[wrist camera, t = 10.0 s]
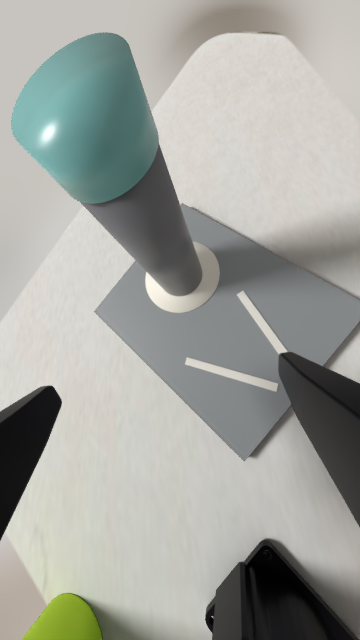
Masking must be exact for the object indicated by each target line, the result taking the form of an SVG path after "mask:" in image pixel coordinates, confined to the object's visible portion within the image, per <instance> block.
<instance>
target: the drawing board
mask: <svg viewBox="0 0 360 640" xmlns="http://www.w3.org/2000/svg"><path fill="white" fill-rule="evenodd" d="M180 207H181V209H182V212H183V215H184V218H185V221H186V224H187V227H188V230H189V233H190V236H191V239H192V241H193V244H194V247H195V250H196V253H197V256H198V259H199V262H200V265H201V268H202V280H201V282H200V284H199V286H198V287H197V288H196V289H195V290H194V291H193V292H192V293H190V294H188V295H185V296H173V295H170V294H168V293H167V292H166V291H165V290H164V289H163V288H162V287H161V286H160V285H159V284H158V283H157V282H156V281H155V280H154V279H153V278H152V277H151V276H150V275H149V274H148V273H147V272H146V271H145V269H144V268H143V267H142V266H141V265H140V264H139V263H138V262H137V261H135V262H134V263H133V264H132V266H131V267H130V268H129V269H128V270H127V272H126V273H125V274H124V275H123V277H122V278H121V279H120V280H119V282H118V283H117V284H116V285H115V286H114V288H113V289H112V290H111V291H110V293H109V294H108V295H107V296H106V297H105V299H104V300H103V301H102V302H101V304H100V305H99V306H98V307H97V309H96V310H95V311H94V312H95V313H96V314H97V315H98V316H99V317H100V318H101V319H102V320H103V321H104V322H105V323H106V324H107V325H108V326H109V327H110V328H111V329H112V330H113V331H114V332H115V333H116V334H117V335H118V336H119V337H120V338H121V339H122V340H123V341H124V342H125V343H126V344H127V345H128V346H129V347H130V348H131V349H132V350H133V351H134V352H135V353H136V354H137V355H138V356H139V357H140V358H141V359H142V360H143V361H144V362H145V363H146V364H147V365H148V366H149V367H150V368H151V369H152V370H153V371H154V372H155V373H156V374H157V375H158V376H159V377H160V378H161V379H162V380H163V381H164V382H165V383H166V384H167V385H168V386H169V387H170V388H171V389H172V390H173V391H174V392H175V393H176V394H177V395H178V396H179V397H180V398H181V399H182V400H183V401H184V402H185V403H186V404H187V405H188V406H189V407H190V408H191V409H192V410H193V411H194V412H195V413H196V414H197V415H198V416H199V417H200V418H201V419H202V420H203V421H204V422H205V423H206V424H207V425H208V426H209V427H210V428H211V429H212V430H213V431H214V432H215V433H216V434H217V435H218V436H219V437H220V438H221V439H222V440H223V441H224V442H225V443H226V444H227V445H228V446H229V447H230V448H231V449H232V450H233V451H234V452H235V453H236V454H237V455H238V456H239V457H240V458H241V459H242V460H243V461H245V460H246V459H247V458H248V457H249V455H250V454H251V453H252V452H253V450H254V449H255V448H256V447H257V446H258V444H259V443H260V442H261V441H262V440H263V438H264V437H265V436H266V435H267V433H268V432H269V431H270V430H271V429H272V427H273V426H274V425H275V424H276V422H277V421H278V420H279V419H280V418H281V416H282V415H283V414H284V413H285V412H286V410H287V409H288V408H289V407H290V405H291V402H290V400H289V398H288V395H287V393H286V391H285V388H284V386H283V384H282V382H281V379H280V377H279V373H278V357H279V354H280V353H284V352H293V353H296V354H298V355H300V356H302V357H304V358H306V359H308V360H310V361H313V362H315V363H317V364H319V365H321V366H323V365H324V364H325V363H326V362H327V360H328V359H329V358H330V357H331V356H332V354H333V353H334V352H335V351H336V349H337V348H338V347H339V346H340V345H341V343H342V342H343V341H344V340H345V338H346V337H347V336H348V335H349V334H350V332H351V331H352V330H353V329H354V328H355V326H356V325H357V324H358V323H359V321H360V300H358V299H357V298H355V297H353V296H351V295H349V294H347V293H346V292H344V291H342V290H340V289H338V288H336V287H335V286H333V285H331V284H329V283H327V282H325V281H324V280H322V279H320V278H318V277H316V276H315V275H313V274H311V273H309V272H307V271H305V270H304V269H302V268H300V267H298V266H296V265H294V264H293V263H291V262H289V261H287V260H285V259H283V258H282V257H280V256H278V255H276V254H274V253H272V252H271V251H269V250H267V249H265V248H263V247H261V246H260V245H258V244H256V243H254V242H252V241H251V240H249V239H247V238H245V237H243V236H241V235H240V234H238V233H236V232H234V231H232V230H230V229H229V228H227V227H225V226H223V225H221V224H219V223H218V222H216V221H214V220H212V219H210V218H208V217H207V216H205V215H203V214H201V213H199V212H198V211H196V210H194V209H192V208H190V207H188V206H187V205H185V204H183V203H182V204H181V205H180Z"/></svg>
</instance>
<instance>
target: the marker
mask: <svg viewBox="0 0 360 640" xmlns="http://www.w3.org/2000/svg"><path fill="white" fill-rule="evenodd" d="M11 125H12V132H13V135H14V137H15V139H16V140H17V141H18V142H19V143H20V144H21V145H22V146H23V148H25V150H26V151H27V152H28V153H29V154H31V156H32V157H33V158H34V159H35V160H36V161H37V162H38V163H39V164H40V165H41V166H42V167H43V168H44V169H45V170H46V171H47V172H48V173H49V174H50V175H51V176H52V177H53V178H54V179H55V180H56V181H57V182H58V183H59V184H60V185H61V186H62V187H63V188H64V189H65V190H66V191H67V193H68V194H69V195H70V196H72V197H73V198H74V199H76V200H77V201H80V202H81V204H83V206H84V207H85V208H86V209H87V210H88V211H89V212H90V213H91V214H92V215H93V216H94V217H95V218H96V219H97V220H98V221H99V222H100V223H101V224H102V225H103V227H104V228H105V229H106V230H107V231H108V232H109V233H110V234H111V235H112V236H113V237H114V238H115V239H116V240H117V241H118V242H119V243H120V244H121V245H122V246H123V247H124V249H125V250H126V251H127V252H128V253H129V254H130V255H131V256H132V257H133V258H134V259H135V260H136V261H137V262H138V263H139V264H140V265H141V266H142V267H143V268H144V269H145V271H146V272H147V273H148V274H149V275H150V276H151V277H152V278H153V279H154V280H155V281H156V282H157V283H158V284H159V285H160V286H161V287H162V288H163V289H164V290H165V291H166V292H167V293H168V294H170V295H173V296H185V295H188V294H190V293H192V292H193V291H194V290H195V289H196V288H197V287H198V286H199V284H200V282H201V280H202V268H201V265H200V262H199V259H198V256H197V253H196V250H195V247H194V244H193V241H192V239H191V236H190V233H189V230H188V227H187V224H186V221H185V218H184V215H183V212H182V209H181V207H180V204H179V201H178V198H177V195H176V192H175V189H174V186H173V183H172V180H171V177H170V175H169V172H168V169H167V166H166V163H165V160H164V157H163V154H162V151H161V148H160V145H159V137H158V131H157V128H156V125H155V122H154V119H153V116H152V113H151V110H150V107H149V104H148V101H147V98H146V95H145V92H144V89H143V86H142V83H141V80H140V77H139V74H138V71H137V68H136V65H135V62H134V59H133V56H132V53H131V50H130V47H129V45H128V43H127V42H126V40H125V39H124V38H122V37H121V36H119V35H117V34H113V33H96V34H91V35H88V36H85V37H83V38H80V39H78V40H76V41H74V42H72V43H70V44H68V45H67V46H65V47H63V48H62V49H60V50H59V51H58V52H56V53H55V54H54V55H53V56H51V57H50V58H49V59H48V60H47V61H46V62H44V63H43V64H42V66H40V68H39V69H38V70H37V71H36V72H35V73H34V74H33V75H32V77H31V78H30V79H29V81H28V82H27V83H26V85H25V86H24V88H23V89H22V91H21V93H20V95H19V97H18V99H17V101H16V104H15V107H14V110H13V114H12V121H11Z"/></svg>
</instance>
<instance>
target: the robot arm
mask: <svg viewBox="0 0 360 640" xmlns="http://www.w3.org/2000/svg"><path fill="white" fill-rule="evenodd" d="M278 373H279V377H280V379H281V382H282V384H283V386H284V388H285V391H286V393H287V395H288V398H289V400H290V402H291V404H292V407H293V409H294V411H295V413H296V416H297V418H298V420H299V421H300V423H301V425H302V427H303V429H304V430H305V432H306V434H307V436H308V437H309V439H310V441H311V443H312V444H313V446H314V448H315V450H316V451H317V453H318V455H319V457H320V458H321V460H322V462H323V464H324V465H325V467H326V469H327V471H328V472H329V474H330V476H331V478H332V479H333V481H334V483H335V485H336V486H337V488H338V490H339V492H340V493H341V495H342V497H343V499H344V500H345V502H346V504H347V506H348V507H349V509H350V511H351V513H352V514H353V516H354V518H355V520H356V521H357V523H358V525H359V527H360V384H359V383H357V382H355V381H353V380H351V379H349V378H347V377H344V376H342V375H340V374H338V373H336V372H334V371H332V370H330V369H327V368H325V367H323V366H321V365H319V364H317V363H315V362H313V361H310V360H308V359H306V358H304V357H302V356H300V355H298V354H296V353H293V352H284V353H280V354H279V357H278ZM61 404H62V401H61V398H60V397H59V395H58V393H57V392H56V390H55V388H54V387H53V386H43V387H40V388H38V389H36V390H35V391H33V392H31V393H30V394H28V395H27V396H25V397H23V398H22V399H20V400H18V401H17V402H15V403H14V404H12V405H10V406H9V407H7V408H5V409H4V410H2V411H1V412H0V540H1V538H2V536H3V534H4V532H5V530H6V528H7V526H8V524H9V522H10V519H11V517H12V515H13V513H14V511H15V509H16V507H17V505H18V503H19V501H20V499H21V497H22V494H23V492H24V490H25V488H26V486H27V484H28V482H29V480H30V478H31V476H32V474H33V471H34V469H35V467H36V465H37V463H38V461H39V459H40V457H41V455H42V453H43V451H44V448H45V446H46V444H47V442H48V439H49V437H50V434H51V431H52V429H53V426H54V423H55V421H56V418H57V416H58V413H59V410H60V408H61ZM265 550H268V551H270V552H271V553H270V554H266V553H264V551H265ZM211 616H214V619H213V618H212V617H211ZM205 620H206V624H207V626H208V628H209V629H210V631H211V632H212V633H213V636H212V640H358V638H357V637H356V636H355V635H354V634H353V633H352V632H351V631H350V630H349V628H348V627H347V626H346V625H345V624H344V623H343V622H342V621H341V620H340V619H339V617H338V616H337V615H336V614H335V613H334V612H333V611H332V610H331V609H330V607H329V606H328V605H327V604H326V603H325V602H324V601H323V600H322V599H321V598H320V596H319V595H318V594H317V593H316V592H315V591H314V590H313V589H312V588H311V587H310V585H309V584H308V583H307V582H306V581H305V580H304V579H303V578H302V577H301V576H300V574H299V573H298V572H297V571H296V570H295V569H294V568H293V567H292V566H291V565H290V563H289V562H288V561H287V560H286V559H285V558H284V557H283V556H282V555H281V553H280V552H279V551H278V550H277V549H276V548H275V547H274V546H273V545H272V544H271V543H270V542H269V541H267V540H262V541H261V542H260V543H259V544H258V545H257V547H256V548H255V549H254V550H253V551H252V553H251V554H250V555H249V556H248V557H247V559H246V560H245V561H244V562H239V563H238V564H237V565H236V567H235V568H234V569H233V570H232V571H231V573H230V574H229V575H228V576H227V577H226V579H225V580H224V581H223V582H222V584H221V585H220V586H219V587H218V588H217V590H216V596H215V598H214V599H213V600H212V601H211V602H210V604H209V605H208V606H207V608H206V618H205Z"/></svg>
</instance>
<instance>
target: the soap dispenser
mask: <svg viewBox="0 0 360 640" xmlns="http://www.w3.org/2000/svg"><path fill="white" fill-rule="evenodd" d="M22 640H102V635H101V631H100V627H99V624H98V622H97V619H96V617H95V615H94V613H93V611H92V610H91V608H90V607H89V606H88V605H87V603H86V602H85V601H83V600H82V599H81V598H79V597H78V596H76V595H73V594H62V595H59V596H57V597H56V598H54V599H53V600H52V601H51V602H50V603H49V605H48V606H47V607H46V609H45V610H44V611H43V612H42V614H41V615H40V616H39V618H38V619H37V621H36V622H35V623H34V624H33V625H32V627H31V628H30V629H29V631H28V632H27V633H26V635H25V636H24V637H23V638H22Z"/></svg>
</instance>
